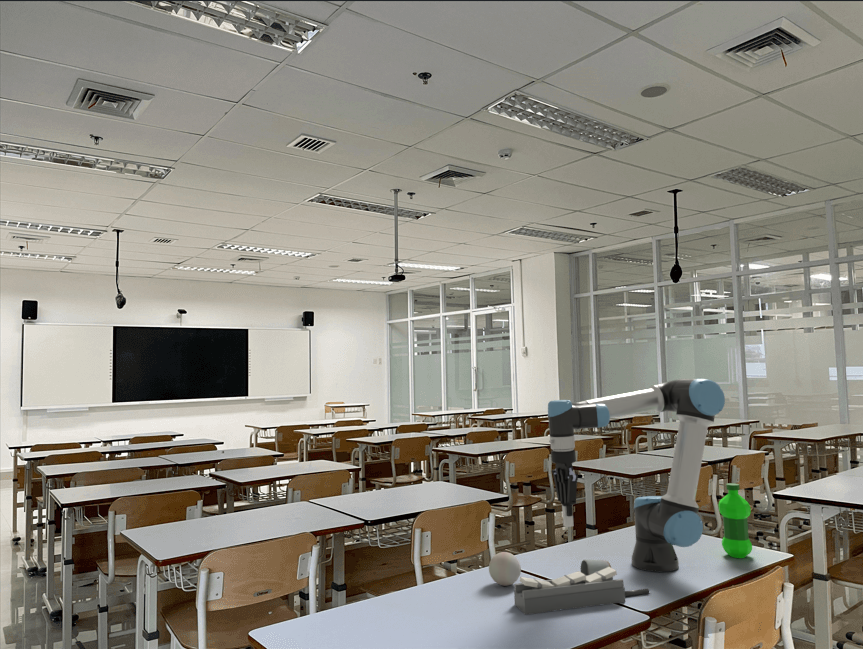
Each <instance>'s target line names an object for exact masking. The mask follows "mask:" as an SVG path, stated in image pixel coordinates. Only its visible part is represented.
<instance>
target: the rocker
mask: <svg viewBox="0 0 863 649" xmlns="http://www.w3.org/2000/svg"><path fill="white" fill-rule="evenodd" d="M617 575H618V573H617V570H616V569H614V568H612V566H611V567H607V568H605V569H603V570H600V571H598V572H595V573H593V574H591V575H588V576H586V579H585V580H584V582H585V583H591V582H600V581H605V580H606V579H608V578H611V577H613V578H614V577H615V576H617Z"/></svg>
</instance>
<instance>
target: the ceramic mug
mask: <svg viewBox="0 0 863 649" xmlns="http://www.w3.org/2000/svg"><path fill="white" fill-rule="evenodd" d="M607 567H611V568H612V565H611V564H610V562H609V561H608V560H604V559H583V560H582V561H581V563H580V570H579V571H580V572H581V573H583V574H584V575H585V576H587V575H591V574H593V573H595V572H598V571H600V570H603V569H605V568H607Z"/></svg>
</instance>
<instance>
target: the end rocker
mask: <svg viewBox="0 0 863 649" xmlns="http://www.w3.org/2000/svg"><path fill="white" fill-rule="evenodd" d="M519 582H520V583H523V584H524V585H526V586H531V587H537V588H549V587H554V585H552V584H551V583H550V582H547V581H544V580H541V579H536V578H529V577H525V576H524V577H523V576H519Z"/></svg>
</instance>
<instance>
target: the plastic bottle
mask: <svg viewBox="0 0 863 649" xmlns="http://www.w3.org/2000/svg"><path fill="white" fill-rule="evenodd" d="M725 485H726V490H727V492H728V493H727V494H726V495H725V496H723V497H722V498H721V499H720V500H719V501H718V505H717V507H718V511H719V514H720V515H721V516H722V521H723V522H722V523H723V535H724V536H723V538H722V540H721V546H722V548H723V550H724V552H725V553H726V554H727V555H728V556H730V557H732V558H734V559H745V558H746V557H747V556H748V555H750V554H751V553H752V551H753V544H752V542H751V540H750V538H749V525H748V523H749V522H748V518H749V517H750V516H751V513H752V510H751V505H750V503H749V502H748V501H747V500H746V499H745V498H744V497H742V496H741V495H740V494H739V491H741V489H740V488H741V487H740V483H733V482H732V483H731V482H730V483H725Z"/></svg>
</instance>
